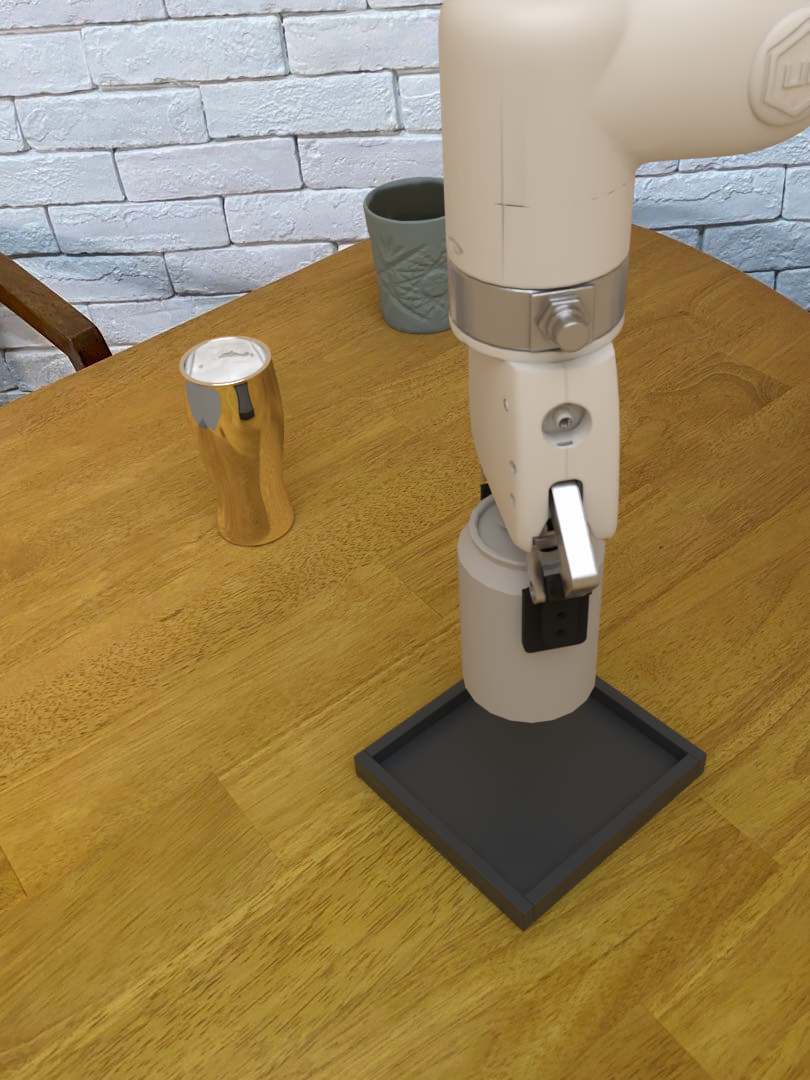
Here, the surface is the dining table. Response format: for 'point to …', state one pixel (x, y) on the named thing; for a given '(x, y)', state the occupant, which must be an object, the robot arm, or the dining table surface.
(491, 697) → the can
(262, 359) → the beer glass
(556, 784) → the tray
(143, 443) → the dining table surface
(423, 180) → the embossed green cup
